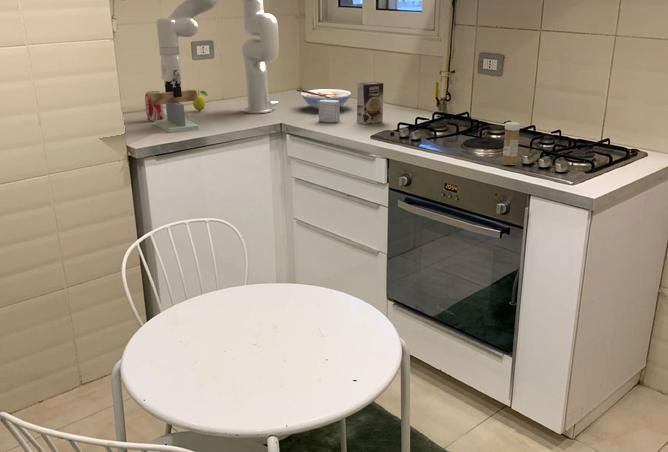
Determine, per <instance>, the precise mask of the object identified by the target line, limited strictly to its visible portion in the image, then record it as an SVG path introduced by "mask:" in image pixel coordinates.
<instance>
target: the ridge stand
mask: <svg viewBox="0 0 668 452" xmlns="http://www.w3.org/2000/svg"><path fill="white" fill-rule="evenodd" d="M165 108H166V116H167V117H166V118H167V119H162V120H158V121H154V125H155V126H157V127H159V128H160V129H162V130H164V131H165V132H168V133H169V134H172V133H181V132H188V131H196V130H197V131H198V130H200V125H199V124H196V123H195V122H192V121H190V120H188V119H187V118H186V117H185V105H184V104H183V103H182V102H178V103H169V104H165Z"/></svg>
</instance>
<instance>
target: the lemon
mask: <svg viewBox="0 0 668 452" xmlns="http://www.w3.org/2000/svg"><path fill="white" fill-rule="evenodd" d="M202 95H203V96H205V97H207V96H209V95H208V93H207V92H206V91H205V90H200V91H199V90H197V101H192V105H193V108H194V109H195V110H197V111H198V112H201V111H203V110H204V109H205V108H206V105H207V104H206V99H205V97H203V96H202Z"/></svg>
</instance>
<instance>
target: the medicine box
mask: <svg viewBox="0 0 668 452" xmlns="http://www.w3.org/2000/svg"><path fill="white" fill-rule="evenodd" d="M340 112H341V110H340V106H339V100H320V101H319V110H318V122H319V121H322V122H321V123H334V122H337V123H338V122H340V121H341V120H340V119H341V117H340Z"/></svg>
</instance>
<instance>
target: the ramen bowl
mask: <svg viewBox="0 0 668 452" xmlns="http://www.w3.org/2000/svg"><path fill="white" fill-rule="evenodd" d="M296 92H300V93H301V94H300V95H301V97H302V99H303V100H304V101H305V103H306V104H307V105H309V106H310V107H312V108H314V109H317V110H318V109H319V101H320V100H339V107H342V106H343V105H345V104H346V103H347V101H348V100H349V99H350V96H351V94H352V93H351V91H348V90H344V89H334V88H333V89H332V88H329V89H327V88H326V89H322V88H321V89H311V90H306V89H302V88H300V89H296Z"/></svg>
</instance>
